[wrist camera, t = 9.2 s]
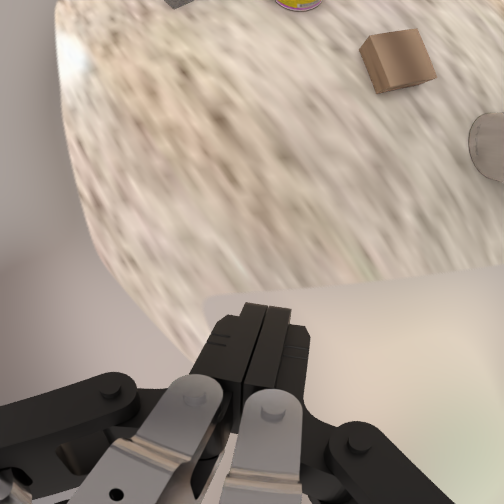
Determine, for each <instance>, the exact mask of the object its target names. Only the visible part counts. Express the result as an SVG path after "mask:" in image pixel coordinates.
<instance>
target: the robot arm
mask: <svg viewBox="0 0 504 504" xmlns="http://www.w3.org/2000/svg"><path fill="white" fill-rule="evenodd" d="M469 148H470V154H471V157H472V160H473V162H474V164H475V166H476V168H477V169H478V170H479V172H481V173H482V174H483V175H484V176H486V177H488V178H490V179H494V180H497V181H500V182H503V183H504V113H487V114H483V115H481V116H480V117H478V118H477V119H476V120H475V122H474V124H473V125H472V128H471V131H470V136H469ZM290 317H291V309H288V308H281V307H274V306H269V308H268V306H267V305H260V304H253V303H247V302H246V303H245V305H244V307H243V309H242V311H241V314H240V316H233V315H227V316H225V317H224V318H222V319H221V320H219V321H218V322H217V323H216V325H215V327H214V329H213V330H212V332H211V335H210V336H209V338H208V340H207V343H205V345H204V347H203V349H202V351H201V353H200V355H199V356H198V358H197V360H196V362H195V364H194V366H193V368H192V370H191V371H190V373H189V375H185V376H182V377H180V378H178V379H177V380H175V381H174V382H172V384H171V385H170V386H169V387H168V388H165V389H141V388H137V386H136V384H135V382H134V380H133V379H132V378H131V377H130V376H128V375H126V374H123V373H119V372H108V373H104V374H101V375H98V376H95V377H92V378H89V379H87V380H83V381H80V382H77V383H75V384H71V385H69V386H66V387H62V388H59V389H56V390H53V391H50V392H47V393H44V394H41V395H37V396H34V397H30V398H27V399H24V400H20V401H17V402H14V403H10V404H7V405H4V406H0V504H32V500H34V499H38V498H42V497H46V496H49V495H53V494H56V493H60V492H63V491H66V490H69V489H73V488H76V487H79V486H80V487H79V488H78V489H77V491H76V492H75V494H74V495H73V496H72V497H71V499H69V500H64V501H61V502H58V503H55V504H201V502H202V500H203V498H204V496H205V493H206V492H207V489H208V487H209V485H210V483H211V481H212V479H213V477H214V475H215V473H216V470H217V468H218V466H219V464H220V462H221V460H222V457H223V455H224V452H225V446H226V444H227V441H228V438H229V435H230V433H235V434H238V437H237V442H236V446H235V450H234V455H233V459H232V464H231V468H230V471H229V474H227V476H226V478H225V481H224V485H223V489H222V493H221V497H220V501H219V504H301V501H302V493H304V494H306V495H308V497H309V499H310V501H311V502H312V504H455V503H454V502H453V501H452V500H451V499H449V498H448V497H447V496H446V495H445V494H444V493H443V492H442V491H441V490H440V489H439V488H438V487H437V486H436V485H435V484H434V483H433V482H432V481H431V480H430V479H429V478H428V477H427V476H426V475H425V474H424V473H422V472H421V471H420V470H419V469H418V468H417V467H416V466H415V465H414V464H413V463H412V462H411V461H410V460H409V459H408V458H407V457H406V456H405V455H404V454H403V453H402V452H401V451H400V450H399V449H398V448H397V447H396V446H395V445H394V444H393V443H392V442H391V441H390V440H389V439H388V438H387V437H386V436H385V435H384V434H383V433H382V432H381V431H380V430H379V429H378V428H376V427H375V426H373V425H371V424H369V423H366V422H360V421H353V422H348V423H344V424H342V425H340V426H339V427H335V426H332V425H330V424H327V423H324V422H322V421H320V420H318V419H317V418H315V417H314V416H313V415H311V414H310V412H309V411H308V410H307V409H306V407H305V404H304V400H303V395H304V387H305V380H306V372H307V363H308V354H309V346H310V335H309V333H308V331H307V329H306V328H305V326H300V325H292V324H290Z"/></svg>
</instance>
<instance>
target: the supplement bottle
mask: <svg viewBox="0 0 504 504" xmlns="http://www.w3.org/2000/svg"><path fill="white" fill-rule="evenodd" d="M275 1H276V2H277V3H278V4H280V5H281V6H282V7H284V8H286V9H290V10H294V11H306V10H310V9H313V8H315V7H316V6H318V5H319V4H320V3H321V2H322V0H275Z"/></svg>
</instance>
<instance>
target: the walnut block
mask: <svg viewBox="0 0 504 504" xmlns="http://www.w3.org/2000/svg"><path fill="white" fill-rule="evenodd" d="M359 51H360V53H361V56H362V58H363V61H364V63H365V65H366V68H367V70H368V73H369V75H370V78H371V81H372V83H373V86H374V88H375V91H376V94H378V93H383V92H387V91H391V90H396V89H401V88H405V87H410V86H415V85H419V84H422V83H425V82H427V81H430V80H433V79H435V78H437V76H436V73H435V71H434V68H433V65H432V63H431V60H430V58H429V55H428V53H427V50H426V48H425V45H424V43H423V41H422V39H421V36H420V34H419V32H418V30H417V29H409V30H402V31H395V32H389V33H382V34H377V35H371V36H369V37H368V38H367V40H366V41H365V42H364V44H363V45H362V46H361V48H360V49H359Z"/></svg>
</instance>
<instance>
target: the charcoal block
mask: <svg viewBox="0 0 504 504" xmlns="http://www.w3.org/2000/svg"><path fill="white" fill-rule="evenodd" d="M164 1H166V2H167V3H168V4H169V5H170V6H171V7H172V8H173V9H176V8H178V7H180V6H183V5H185V4H187V3H189V2H192V1H194V0H164Z"/></svg>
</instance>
